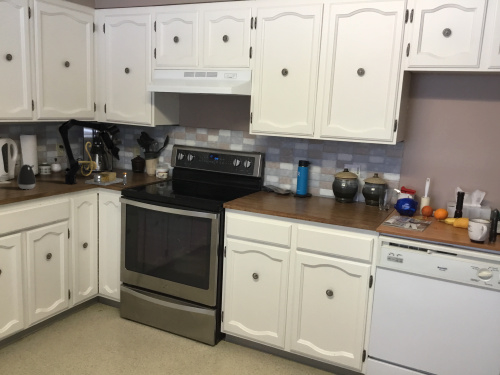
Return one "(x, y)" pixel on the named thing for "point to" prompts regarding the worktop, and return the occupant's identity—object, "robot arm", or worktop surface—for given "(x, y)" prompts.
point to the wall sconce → (91, 163)
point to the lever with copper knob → (124, 178)
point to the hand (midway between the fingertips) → (117, 159)
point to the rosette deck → (104, 179)
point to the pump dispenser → (26, 177)
